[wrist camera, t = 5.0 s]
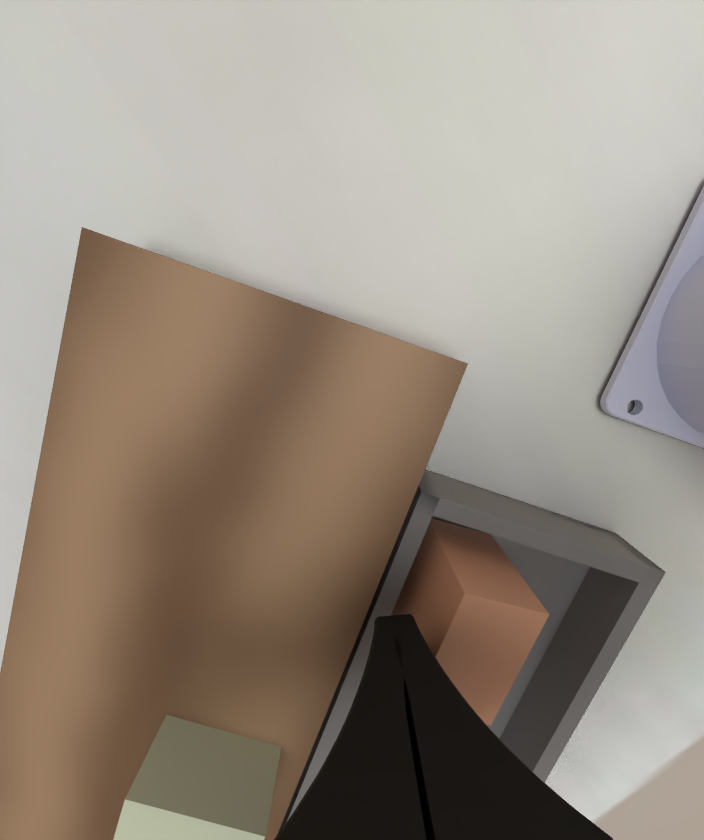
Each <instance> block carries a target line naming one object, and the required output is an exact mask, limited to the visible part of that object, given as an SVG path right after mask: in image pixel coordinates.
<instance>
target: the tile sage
mask: <svg viewBox="0 0 704 840" xmlns="http://www.w3.org/2000/svg"><path fill="white" fill-rule="evenodd" d="M280 752H281V747H280V746H276V745H273V744H269V743H265V742H262V741H258V740H255V739H251V738H248V737H244V736H241V735H237V734H233V733H230V732H226V731H223V730H219V729H216V728H212V727H209V726H205V725H202V724H198V723H194V722H191V721H187V720H184V719H180V718H177V717H173V716H170V715H166V717H165V719H164V721H163V723H162V725H161V727H160V729H159V731H158V733H157V735H156V737H155V739H154V741H153V743H152V745H151V747H150V749H149V751H148V753H147V755H146V757H145V759H144V761H143V763H142V765H141V767H140V769H139V772H138V774H137V776H136V778H135V780H134V782H133V784H132V786H131V788H130V790H129V792H128V794H127V796H126V798H125V801H124V804H123V808H122V811H121V814H120V818H119V821H118V825H117V828H116V832H115V835H114V839H113V840H264V839H265V837H266V831H267V825H268V820H269V814H270V808H271V803H272V797H273V792H274V786H275V780H276V775H277V769H278V763H279V758H280Z"/></svg>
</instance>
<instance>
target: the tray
mask: <svg viewBox="0 0 704 840" xmlns="http://www.w3.org/2000/svg"><path fill="white" fill-rule="evenodd" d="M431 518H432V519H436V520H440V521H444V522H447V523H451V524H455V525H458V526H462V527H466V528H469V529H473V530H477V531H480V532H484V533H488V534H491V535H492V537H493V538H494V539H495V541H496V542H497V543H498V545H499V546H500V548H501V549H502V550H503V552H504V553H505V554H506V556H507V557H508V559H509V560H510V561H511V563H512V564H513V565H514V567H515V568H516V569H517V571H518V572H519V574H520V575H521V576H522V578H523V579H524V580H525V582H526V583H527V585H528V586H529V587H530V589H531V590H532V591H533V593H534V594H535V595H536V597H537V598H538V600H539V601H540V602H541V604H542V605H543V606H544V608H545V609H546V610H547V612H548V613H549V616H548V618H547V620H546V622H545V624H544V626H543V628H542V630H541V632H540V633H539V635H538V637H537V639H536V641H535V643H534V645H533V647H532V649H531V650H530V652H529V654H528V656H527V658H526V660H525V662H524V664H523V666H522V668H521V669H520V671H519V673H518V675H517V677H516V679H515V681H514V683H513V685H512V687H511V688H510V690H509V692H508V694H507V696H506V698H505V700H504V702H503V704H502V705H501V707H500V709H499V711H498V713H497V715H496V717H495V719H494V721H493V723H492V724H491V725H487V726H488V727H489V728H490V730H491V731H492V732H493V733H494V734H495V735H496V736H497V737H498V738H499V739H500V740H501V741H502V742H503V743H504V745H505V746H506V747H507V748H508V749H509V750H510V751H511V752H513V753H514V754H515V755H516V756H517V757H518V758H519V759H520V760H521V761H522V762H523V763H524V764H525V765H526V766H527V767H528V768H529V769H530V770H531V771H532V772H533V773H534V774H535V775H536V776H537V777H538V778H540V779H541V780H542V781H543V782H545V781H546V779H547V777H548V775H549V774H550V772H551V770H552V768H553V767H554V765H555V763H556V762H557V760H558V758H559V756H560V755H561V753H562V751H563V749H564V748H565V746H566V744H567V742H568V741H569V739H570V737H571V735H572V734H573V732H574V730H575V729H576V727H577V725H578V723H579V722H580V720H581V718H582V716H583V715H584V713H585V711H586V709H587V708H588V706H589V704H590V702H591V701H592V699H593V697H594V696H595V694H596V692H597V690H598V689H599V687H600V685H601V683H602V682H603V680H604V678H605V676H606V675H607V673H608V671H609V670H610V668H611V666H612V664H613V663H614V661H615V659H616V657H617V656H618V654H619V652H620V650H621V649H622V647H623V645H624V643H625V642H626V640H627V638H628V637H629V635H630V633H631V631H632V630H633V628H634V626H635V624H636V623H637V621H638V619H639V617H640V616H641V614H642V612H643V610H644V609H645V607H646V605H647V604H648V602H649V600H650V598H651V597H652V595H653V593H654V591H655V590H656V588H657V586H658V584H659V583H660V581H661V579H662V578H663V576H664V574H665V572H664V571H663V570H662V569H661V568H659V567H658V566H657V565H656V564H654V563H653V562H652V561H650V560H649V559H648V558H647V557H645V556H644V555H643V554H642V553H640V552H639V551H638V550H636V549H635V548H634V547H633V546H631V545H630V544H629V543H628V542H626V541H625V540H624V539H622V538H621V537H620V536H619V535H617V534H616V533H613V532H610V531H607V530H604V529H601V528H598V527H595V526H592V525H589V524H586V523H583V522H580V521H577V520H574V519H571V518H568V517H565V516H562V515H559V514H556V513H553V512H550V511H547V510H544V509H541V508H538V507H535V506H532V505H529V504H526V503H523V502H520V501H517V500H514V499H511V498H508V497H505V496H502V495H499V494H496V493H493V492H490V491H487V490H484V489H482V488H479V487H476V486H473V485H470V484H467V483H464V482H461V481H458V480H455V479H452V478H449V477H446V476H443V475H440V474H437V473H434V472H431V471H428V470H425V471H424V473H423V476H422V478H421V481H420V483H419V486H418V488H417V491H416V493H415V496H414V498H413V500H412V503H411V505H410V508H409V510H408V513H407V515H406V518H405V520H404V523H403V525H402V528H401V530H400V533H399V535H398V538H397V540H396V542H395V545H394V547H393V550H392V552H391V555H390V557H389V560H388V562H387V565H386V567H385V570H384V572H383V575H382V577H381V580H380V582H379V584H378V587H377V589H376V592H375V594H374V597H373V599H372V602H371V604H370V607H369V609H368V612H367V614H366V617H365V619H364V622H363V624H362V626H361V629H360V631H359V634H358V636H357V639H356V641H355V644H354V646H353V649H352V651H351V654H350V656H349V659H348V661H347V664H346V666H345V668H344V671H343V673H342V676H341V678H340V681H339V683H338V686H337V688H336V691H335V693H334V696H333V698H332V701H331V703H330V706H329V708H328V710H327V713H326V715H325V718H324V720H323V723H322V725H321V728H320V730H319V733H318V735H317V738H316V740H315V743H314V745H313V748H312V750H311V752H310V755H309V757H308V760H307V762H306V765H305V767H304V770H303V772H302V775H301V777H300V780H299V782H298V785H297V787H296V790H295V792H294V794H293V797H292V799H291V802H290V804H289V807H288V809H287V812H286V814H285V817H284V819H283V822H282V824H281V827H280V829H279V832H280V830H281V829H282V828H283V826H284V825H285V824H286V822H287V821H288V819H289V818H290V817H291V815H292V814H293V812H294V811H295V809H296V808H297V806H298V804H299V803H300V801H301V800H302V798H303V797H304V795H305V793H306V792H307V790H308V789H309V787H310V785H311V784H312V782H313V781H314V779H315V778H316V776H317V774H318V772H319V771H320V769H321V767H322V765H323V764H324V762H325V760H326V758H327V756H328V754H329V752H330V750H331V749H332V747H333V745H334V743H335V741H336V739H337V737H338V735H339V733H340V731H341V729H342V726H343V724H344V722H345V720H346V718H347V715H348V713H349V711H350V708H351V706H352V703H353V701H354V698H355V695H356V693H357V690H358V687H359V685H360V682H361V679H362V676H363V673H364V669H365V666H366V663H367V659H368V656H369V652H370V648H371V643H372V639H373V633H374V620H375V619H376V618H377V617H379V616H391V614H392V611H393V609H394V606H395V604H396V602H397V599H398V597H399V594H400V592H401V590H402V587H403V585H404V583H405V580H406V578H407V575H408V573H409V571H410V568H411V566H412V564H413V561H414V559H415V556H416V554H417V552H418V549H419V547H420V545H421V542H422V540H423V537H424V535H425V533H426V530H427V528H428V525H429V523H430V521H431ZM279 832H278V833H279Z"/></svg>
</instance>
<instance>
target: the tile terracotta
mask: <svg viewBox="0 0 704 840" xmlns="http://www.w3.org/2000/svg"><path fill="white" fill-rule="evenodd" d="M403 614H411V615H412V616H413V617H414V619H415V621H416V624H417V626H418V628H419V630H420V632H421V634H422V636H423V638H424V639H425V641H426V643H427V645H428V646H429V648H430V650H431V651H432V653H433V655H434V656H435V658H436V659H437V661H438V662H439V664H440V665H441V667H442V668H443V670H444V671H445V673H446V674H447V676H448V677H449V679H450V680H451V681H452V683H453V684H454V685H455V687H456V688H457V689H458V691H459V692H460V693H461V695H462V696H463V697H464V699H465V700H466V701H467V702H468V704H469V705H470V706H471V707H472V709H473V710H474V711H475V712H476V714H477V715H478V716H479V717H480V718H481V719H482V720H483V722H484V723H485V724H486V725H491V724H492V723H493V721H494V719H495V717H496V715H497V713H498V711H499V709H500V707H501V705H502V704H503V702H504V700H505V698H506V696H507V694H508V692H509V690H510V688H511V687H512V685H513V683H514V681H515V679H516V677H517V675H518V673H519V671H520V669H521V668H522V666H523V664H524V662H525V660H526V658H527V656H528V654H529V652H530V650H531V649H532V647H533V645H534V643H535V641H536V639H537V637H538V635H539V633H540V632H541V630H542V628H543V626H544V624H545V622H546V620H547V618H548V616H549V613H548V612H547V610H546V609H545V608H544V606H543V605H542V604H541V602H540V601H539V600H538V598H537V597H536V595H535V594H534V593H533V591H532V590H531V589H530V587H529V586H528V585H527V583H526V582H525V580H524V579H523V578H522V576H521V575H520V574H519V572H518V571H517V569H516V568H515V567H514V565H513V564H512V563H511V561H510V560H509V559H508V557H507V556H506V554H505V553H504V552H503V550H502V549H501V548H500V546H499V545H498V543H497V542H496V541H495V539H494V538H493V537H492V535H491V534H488V533H484V532H480V531H477V530H473V529H469V528H466V527H462V526H458V525H455V524H451V523H447V522H444V521H440V520H436V519H432V518H431V521H430V523H429V525H428V528H427V530H426V533H425V535H424V537H423V540H422V542H421V545H420V547H419V549H418V552H417V554H416V556H415V559H414V561H413V564H412V566H411V568H410V571H409V573H408V575H407V578H406V580H405V583H404V585H403V587H402V590H401V592H400V594H399V597H398V599H397V602H396V604H395V606H394V609H393V611H392V614H391V615H403Z"/></svg>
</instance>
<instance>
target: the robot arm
mask: <svg viewBox="0 0 704 840" xmlns="http://www.w3.org/2000/svg"><path fill="white" fill-rule="evenodd" d="M633 400H634V402H635V407H634V409H633V410H632V411H631V412H628V411H627V406H628V404H629V403H630V402H631V401H633ZM600 405H601V408H602V410H603V411H604V412H605V413H607V414H608V415H611V416H614V417H617V418H620V419H623V420H625V421H628V422H631V423H634V424H637V425H640V426H642V427H645V428H648V429H651V430H654V431H657V432H659V433H662V434H665V435H668V436H671V437H673V438H676V439H679V440H682V441H685V442H688V443H690V444H693V445H696V446H699V447H702V448H704V186H703V188H702V190H701V192H700V194H699V196H698V199H697V201H696V203H695V205H694V207H693V209H692V211H691V213H690V215H689V217H688V219H687V221H686V223H685V225H684V227H683V229H682V232H681V234H680V236H679V238H678V240H677V242H676V244H675V246H674V248H673V250H672V252H671V254H670V256H669V258H668V260H667V262H666V264H665V267H664V269H663V271H662V273H661V275H660V277H659V279H658V281H657V283H656V285H655V287H654V289H653V291H652V293H651V295H650V297H649V300H648V302H647V304H646V306H645V308H644V310H643V312H642V314H641V316H640V318H639V320H638V322H637V324H636V326H635V328H634V330H633V332H632V335H631V337H630V339H629V341H628V343H627V345H626V347H625V349H624V351H623V353H622V355H621V357H620V359H619V361H618V363H617V365H616V368H615V370H614V372H613V374H612V376H611V378H610V380H609V382H608V384H607V386H606V388H605V390H604V392H603V394H602V397H601V400H600ZM274 840H613V839H612V837H610V836H609V835H608V834H606V833H605V832H604V831H603V830H601V829H600V828H598V827H597V826H596V825H595V824H594V823H592V822H591V821H590V820H588V819H587V818H586V817H585V816H583V815H582V814H581V813H579V812H578V811H577V810H576V809H574V808H573V807H572V806H571V805H569V804H568V803H567V802H566V801H565V800H563V799H562V798H561V797H560V796H559V795H558V794H557V793H555V792H554V791H553V790H552V789H551V788H550V787H549V786H547V785H546V784H545V783H544V782H543V781H542V780H541V779H540V778H538V777H537V776H536V775H535V774H534V773H533V772H532V771H531V770H530V769H529V768H528V767H527V766H526V765H525V764H524V763H523V762H522V761H521V760H520V759H519V758H518V757H517V756H516V755H515V754H514V753H513V752H511V751H510V750H509V749H508V748H507V747H506V746H505V745H504V743H503V742H502V741H501V740H500V739H499V738H498V737H497V736H496V735H495V734H494V733H493V732H492V731H491V730H490V728H489V727H488V726H487V725H486V724H485V723H484V722H483V720H482V719H481V718H480V717H479V716H478V715H477V714H476V712H475V711H474V710H473V709H472V707H471V706H470V705H469V704H468V702H467V701H466V700H465V699H464V697H463V696H462V695H461V693H460V692H459V691H458V689H457V688H456V687H455V685H454V684H453V683H452V681H451V680H450V679H449V677H448V676H447V674H446V673H445V671H444V670H443V668H442V667H441V665H440V664H439V662H438V661H437V659H436V658H435V656H434V655H433V653H432V651H431V650H430V648H429V646H428V645H427V643H426V641H425V639H424V638H423V636H422V634H421V632H420V630H419V628H418V626H417V624H416V621H415V619H414V617H413V616H412V615H411V614H403V615H391V616H379V617H377V618H376V619H375V620H374V633H373V639H372V643H371V648H370V652H369V656H368V659H367V663H366V666H365V669H364V673H363V676H362V679H361V682H360V685H359V687H358V690H357V693H356V695H355V698H354V701H353V703H352V706H351V708H350V711H349V713H348V715H347V718H346V720H345V722H344V724H343V726H342V729H341V731H340V733H339V735H338V737H337V739H336V741H335V743H334V745H333V747H332V749H331V750H330V752H329V754H328V756H327V758H326V760H325V762H324V764H323V765H322V767H321V769H320V771H319V772H318V774H317V776H316V778H315V779H314V781H313V782H312V784H311V785H310V787H309V789H308V790H307V792H306V793H305V795H304V797H303V798H302V800H301V801H300V803H299V804H298V806H297V808H296V809H295V811H294V812H293V814H292V815H291V817H290V818H289V819H288V821H287V822H286V824H285V825H284V826H283V828H282V829H281V830H280V832H279V833H278V834H277V836H276V837H275V839H274Z"/></svg>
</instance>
